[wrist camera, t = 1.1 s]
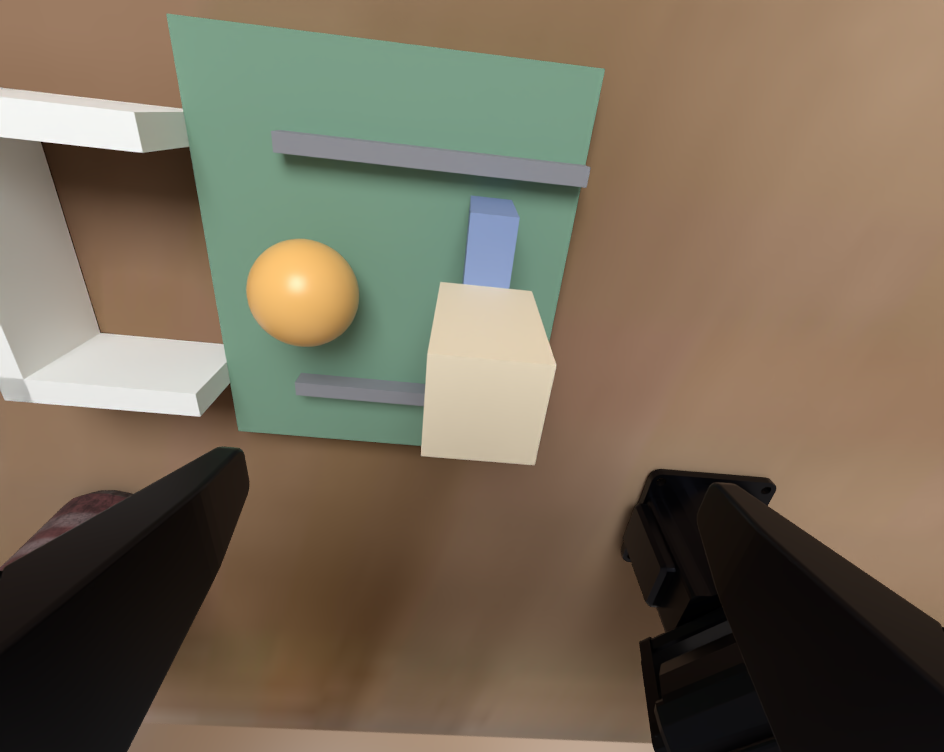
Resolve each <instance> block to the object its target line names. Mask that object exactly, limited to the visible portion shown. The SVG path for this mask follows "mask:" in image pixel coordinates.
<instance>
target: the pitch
mask: <svg viewBox="0 0 944 752" xmlns="http://www.w3.org/2000/svg"><path fill="white" fill-rule="evenodd" d="M167 20H168V26H169V32H170V38H171V43H172V49H173V55H174V61H175V66H176V72H177V78H178V84H179V90H180V95H181V101H182V107H183V113H184V119H185V124H186V130H187V136H188V142H189V147H190V153H191V159H192V165H193V171H194V176H195V182H196V188H197V194H198V199H199V205H200V211H201V217H202V223H203V228H204V234H205V240H206V246H207V252H208V257H209V263H210V269H211V275H212V280H213V286H214V292H215V298H216V304H217V309H218V315H219V321H220V327H221V332H222V338H223V344H224V350H225V356H226V361H227V367H228V373H229V379H230V385H231V390H232V396H233V402H234V408H235V413H236V419H237V425H238V431H246V432H258V433H271V434H283V435H295V436H307V437H319V438H331V439H343V440H356V441H368V442H380V443H392V444H404V445H416V446H421V445H422V429H423V414H424V398H425V383H426V367H427V353H428V347H429V342H430V336H431V331H432V325H433V320H434V314H435V309H436V303H437V298H438V292H439V287H440V282H447V283H457V284H462V280H463V270H464V260H465V249H466V239H467V229H468V218H469V208H470V198H471V196H480V197H489V198H498V199H508V200H512V201H513V204H514V206H515V208H516V210H517V213H518V215H519V217H520V219H519V226H518V233H517V240H516V246H515V253H514V260H513V267H512V273H511V280H510V287H509V289H516V290H526V291H532V293H533V296H534V299H535V302H536V305H537V308H538V311H539V314H540V317H541V320H542V323H543V326H544V329H545V332H546V335H547V338H548V341H549V340H550V336H551V331H552V326H553V321H554V316H555V311H556V306H557V301H558V296H559V291H560V287H561V282H562V277H563V272H564V267H565V262H566V257H567V252H568V247H569V243H570V238H571V233H572V228H573V223H574V218H575V213H576V208H577V203H578V199H579V194H580V189H581V187H585V188H586V187H587V182H588V178H589V173H590V167H588V166H586V165H585V164H586V159H587V154H588V150H589V145H590V140H591V135H592V130H593V125H594V120H595V115H596V110H597V106H598V101H599V96H600V91H601V86H602V81H603V76H604V71H605V69H602V68H594V67H586V66H578V65H570V64H562V63H554V62H546V61H538V60H531V59H523V58H515V57H507V56H499V55H491V54H483V53H475V52H467V51H459V50H451V49H443V48H435V47H427V46H419V45H411V44H404V43H396V42H388V41H380V40H372V39H364V38H356V37H348V36H340V35H332V34H324V33H316V32H308V31H300V30H292V29H285V28H277V27H269V26H261V25H253V24H245V23H237V22H229V21H221V20H213V19H205V18H197V17H189V16H181V15H173V14H167ZM291 239H309V240H314V241H317V242H320V243H323V244H325V245H327V246H329V247H331V248H332V249H334V250H335V251H337V252H338V253H339V254H340V255H341V256H342V257H343V258H344V259H345V260H346V261H347V262H348V264H349V265H350V267H351V268H352V270H353V272H354V274H355V276H356V279H357V282H358V287H359V305H358V310H357V312H356V315H355V318H354V319H353V321H352V323H351V324H350V326H349V327H348V328H347V330H346V331H345V332H344V333H342V334H341V335H340V336H338V337H337V338H336V339H334V340H332V341H330V342H328V343H325V344H322V345H319V346H313V347H299V346H293V345H289V344H286V343H284V342H281V341H279V340H277V339H275V338H274V337H272V336H271V335H269V334H268V333H267V332H266V331H265V330H264V329H263V328H262V327H261V326H260V325H259V324H258V323H257V321H256V320H255V318H254V317H253V315H252V313H251V311H250V308H249V305H248V300H247V294H246V285H247V279H248V275H249V272H250V269H251V267H252V266H253V264H254V262H255V261H256V259H257V258H258V257H259V256H260V255H261V254H262V253H263V252H264V251H265V250H266V249H268V248H269V247H271V246H273V245H275V244H277V243H279V242H282V241H286V240H291Z"/></svg>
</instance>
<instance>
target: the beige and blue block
mask: <svg viewBox="0 0 944 752" xmlns="http://www.w3.org/2000/svg"><path fill="white" fill-rule="evenodd" d="M519 219H520V217H519V215H518V213H517V210H516V208H515V206H514V204H513V201H512V200H508V199H498V198H489V197H480V196H471V198H470V208H469V218H468V229H467V239H466V249H465V260H464V270H463V280H462V284H457V283H447V282H440V287H439V292H438V298H437V303H436V309H435V314H434V320H433V325H432V331H431V336H430V342H429V347H428V353H427V367H426V383H425V398H424V414H423V429H422V445H421V456H427V457H439V458H452V459H464V460H476V461H489V462H501V463H513V464H526V465H535V461H536V457H537V452H538V448H539V443H540V438H541V434H542V429H543V425H544V420H545V416H546V411H547V406H548V402H549V397H550V393H551V388H552V384H553V379H554V374H555V370H556V363H555V360H554V357H553V354H552V351H551V347H550V344H549V341H548V338H547V335H546V332H545V329H544V326H543V323H542V320H541V317H540V314H539V311H538V308H537V305H536V302H535V299H534V296H533V293H532V291H526V290H516V289H509V287H510V280H511V273H512V267H513V260H514V253H515V246H516V240H517V233H518V226H519Z"/></svg>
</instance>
